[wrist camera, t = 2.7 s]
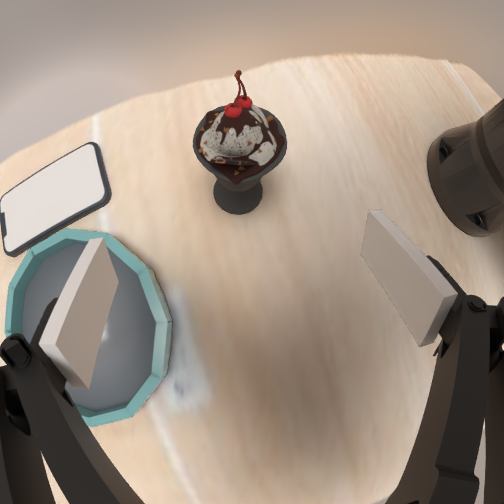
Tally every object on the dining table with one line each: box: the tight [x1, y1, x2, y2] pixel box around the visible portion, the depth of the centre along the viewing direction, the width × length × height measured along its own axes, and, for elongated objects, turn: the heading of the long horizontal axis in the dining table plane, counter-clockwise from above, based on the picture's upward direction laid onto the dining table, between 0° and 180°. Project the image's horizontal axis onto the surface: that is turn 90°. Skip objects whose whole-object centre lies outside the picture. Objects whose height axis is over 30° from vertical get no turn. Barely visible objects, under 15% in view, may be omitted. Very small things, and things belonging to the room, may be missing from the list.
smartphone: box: [0, 142, 111, 257], centre depth 28 cm, size 9×2×16 cm
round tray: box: [5, 228, 172, 427], centre depth 25 cm, size 19×19×3 cm
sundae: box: [193, 70, 287, 214], centre depth 23 cm, size 7×7×15 cm
